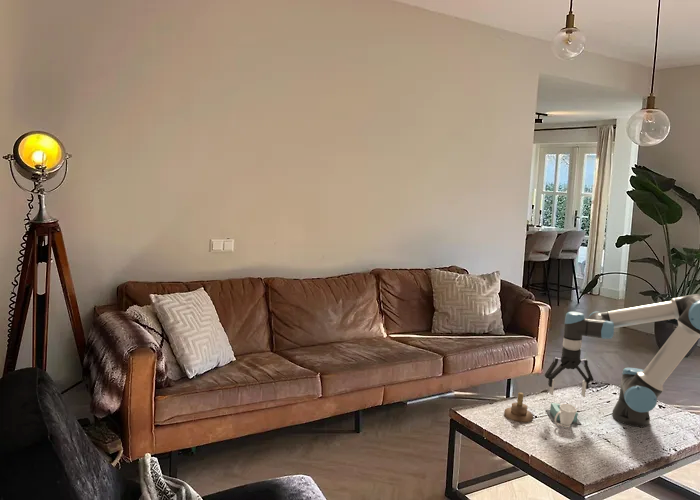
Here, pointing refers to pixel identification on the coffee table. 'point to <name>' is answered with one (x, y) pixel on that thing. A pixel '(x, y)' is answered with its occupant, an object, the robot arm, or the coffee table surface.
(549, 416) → the mat
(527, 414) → the stand
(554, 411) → the link
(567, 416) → the cup
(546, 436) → the coffee table surface
